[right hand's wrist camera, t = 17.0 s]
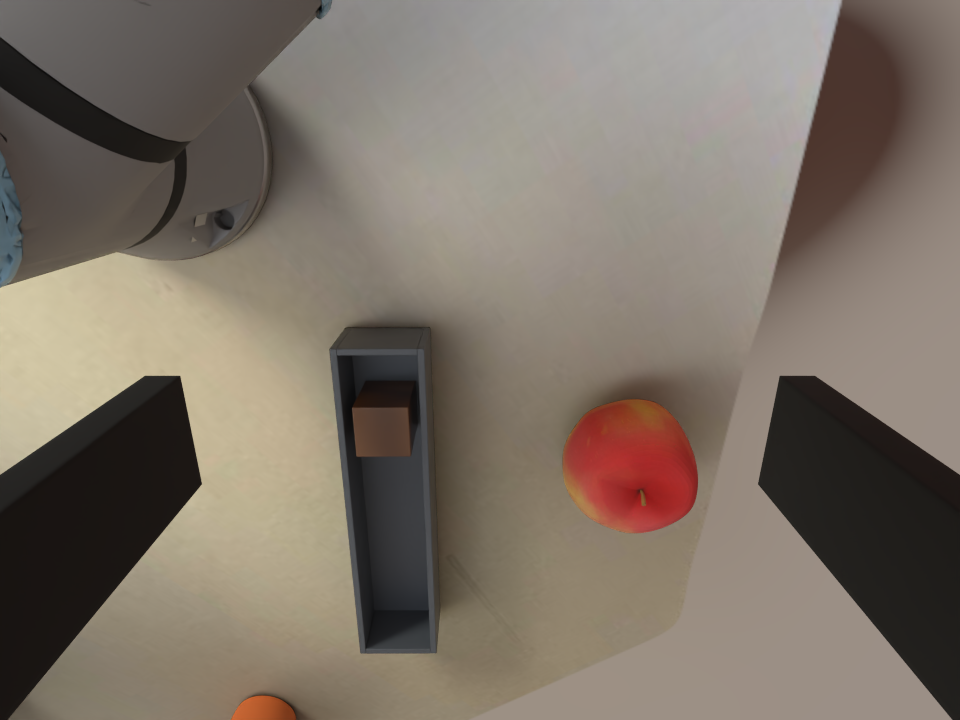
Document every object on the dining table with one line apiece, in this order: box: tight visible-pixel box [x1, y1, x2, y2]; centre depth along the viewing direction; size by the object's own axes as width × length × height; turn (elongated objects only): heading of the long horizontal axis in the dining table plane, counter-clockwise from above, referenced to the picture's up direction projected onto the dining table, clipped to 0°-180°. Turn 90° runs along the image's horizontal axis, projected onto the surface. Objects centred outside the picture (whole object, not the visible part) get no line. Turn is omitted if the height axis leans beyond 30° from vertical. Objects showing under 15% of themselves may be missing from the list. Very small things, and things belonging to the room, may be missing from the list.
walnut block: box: [352, 381, 418, 457], centre depth 43 cm, size 4×4×5 cm
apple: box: [563, 399, 698, 533], centre depth 42 cm, size 10×10×10 cm
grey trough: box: [329, 328, 440, 653], centre depth 47 cm, size 7×28×5 cm, turn 0°
